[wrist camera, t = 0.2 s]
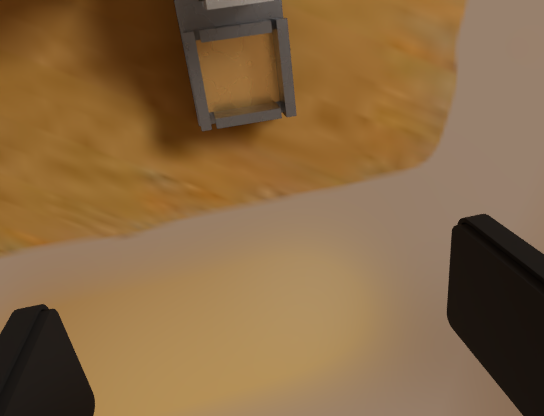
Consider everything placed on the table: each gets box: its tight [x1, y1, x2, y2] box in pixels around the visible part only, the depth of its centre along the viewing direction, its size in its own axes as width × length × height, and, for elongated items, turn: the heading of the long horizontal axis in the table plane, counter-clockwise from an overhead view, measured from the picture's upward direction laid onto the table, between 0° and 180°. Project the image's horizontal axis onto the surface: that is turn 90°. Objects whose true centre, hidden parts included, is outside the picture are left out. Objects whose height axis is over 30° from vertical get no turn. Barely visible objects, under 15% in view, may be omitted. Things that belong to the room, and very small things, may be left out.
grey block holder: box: [174, 0, 296, 131], centre depth 30 cm, size 17×8×10 cm, turn 7°
